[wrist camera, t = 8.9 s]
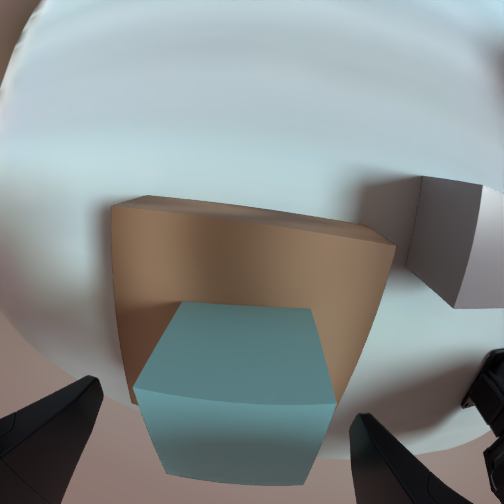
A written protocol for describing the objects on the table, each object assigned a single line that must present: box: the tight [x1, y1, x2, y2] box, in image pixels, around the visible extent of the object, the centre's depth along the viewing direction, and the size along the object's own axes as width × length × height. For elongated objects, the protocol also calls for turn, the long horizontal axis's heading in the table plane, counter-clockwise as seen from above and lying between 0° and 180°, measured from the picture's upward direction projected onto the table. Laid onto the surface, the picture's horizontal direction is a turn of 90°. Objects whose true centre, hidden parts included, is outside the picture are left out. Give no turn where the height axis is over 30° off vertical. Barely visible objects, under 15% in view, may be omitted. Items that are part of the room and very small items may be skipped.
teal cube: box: [133, 301, 337, 486], centre depth 9 cm, size 5×5×5 cm
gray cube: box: [405, 176, 504, 309], centre depth 10 cm, size 5×5×5 cm
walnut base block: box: [111, 195, 396, 411], centre depth 13 cm, size 11×11×4 cm
